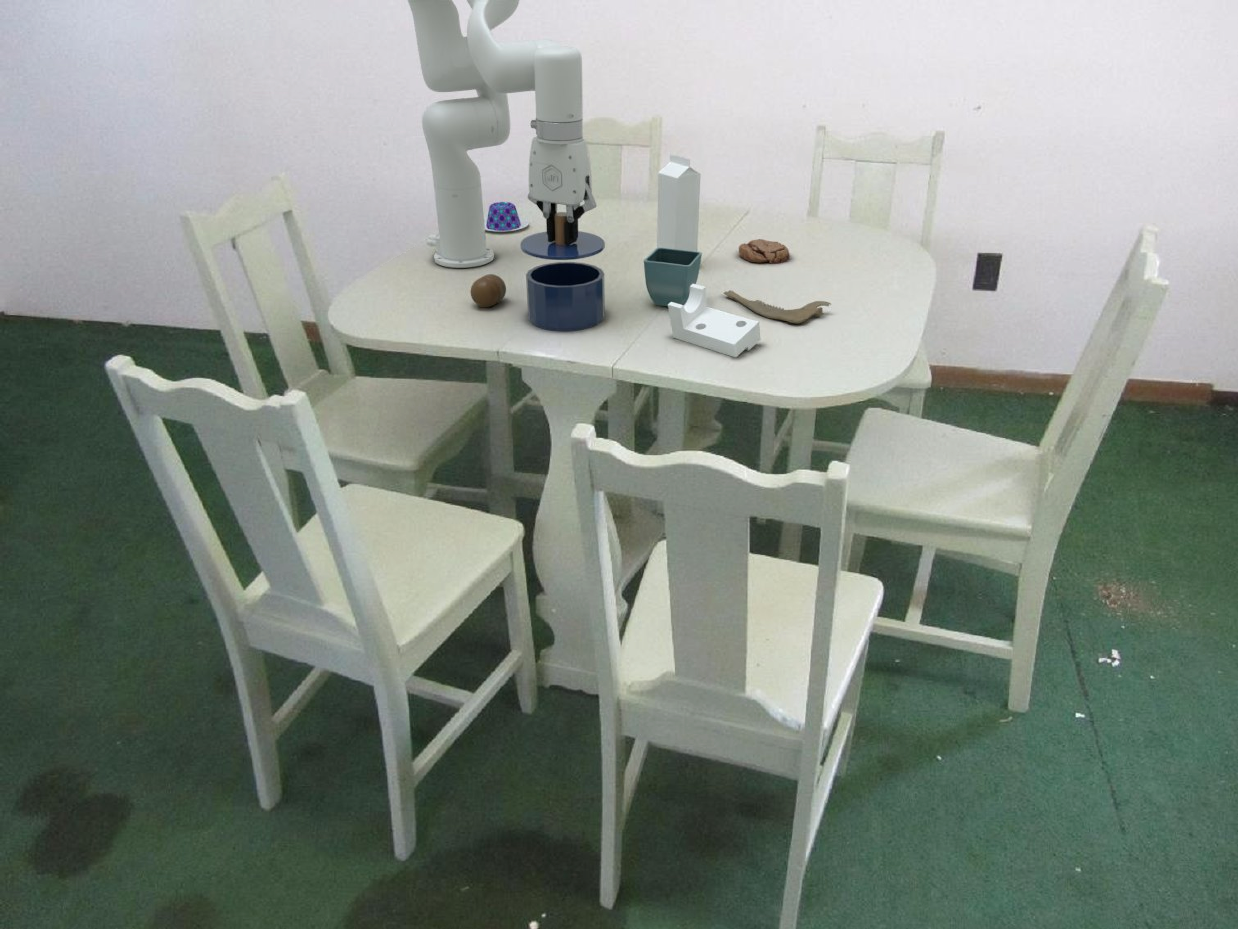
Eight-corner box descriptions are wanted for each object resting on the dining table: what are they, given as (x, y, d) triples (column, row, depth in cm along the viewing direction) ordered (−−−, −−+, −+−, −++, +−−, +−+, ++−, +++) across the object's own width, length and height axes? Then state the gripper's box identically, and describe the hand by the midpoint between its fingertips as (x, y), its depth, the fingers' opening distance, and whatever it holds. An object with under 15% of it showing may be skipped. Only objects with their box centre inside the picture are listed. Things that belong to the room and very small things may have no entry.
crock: (513, 323, 161) (511, 279, 157) (553, 299, 171) (552, 257, 167) (580, 336, 155) (579, 292, 151) (617, 310, 166) (617, 268, 162)
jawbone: (816, 332, 158) (816, 321, 157) (706, 314, 166) (706, 304, 165) (830, 311, 164) (831, 300, 163) (724, 295, 173) (724, 285, 171)
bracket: (673, 341, 156) (667, 304, 151) (698, 320, 159) (693, 283, 154) (736, 362, 148) (732, 323, 143) (760, 339, 152) (757, 301, 147)
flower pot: (700, 297, 172) (702, 251, 167) (688, 313, 164) (690, 265, 160) (656, 292, 174) (657, 246, 169) (642, 308, 167) (642, 260, 162)
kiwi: (490, 313, 165) (488, 284, 162) (466, 308, 167) (463, 280, 164) (514, 299, 171) (512, 271, 168) (490, 295, 173) (488, 267, 170)
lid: (504, 255, 155) (502, 219, 151) (548, 232, 166) (547, 198, 163) (578, 268, 149) (578, 231, 146) (619, 244, 160) (619, 209, 157)
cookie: (791, 264, 188) (792, 250, 187) (740, 264, 189) (741, 249, 187) (785, 249, 197) (787, 236, 195) (736, 249, 197) (737, 235, 196)
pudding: (512, 236, 206) (510, 213, 203) (467, 230, 210) (465, 207, 208) (538, 223, 215) (537, 201, 213) (495, 217, 220) (493, 195, 217)
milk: (674, 273, 184) (677, 161, 173) (656, 265, 188) (657, 155, 177) (697, 267, 187) (701, 156, 176) (678, 259, 191) (681, 151, 180)
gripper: (505, 129, 147) (511, 240, 157) (592, 139, 141) (593, 255, 151) (529, 121, 153) (534, 229, 163) (614, 131, 147) (614, 242, 156)
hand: (562, 240), depth 157 cm, fingers closed on lid, 2 cm apart
